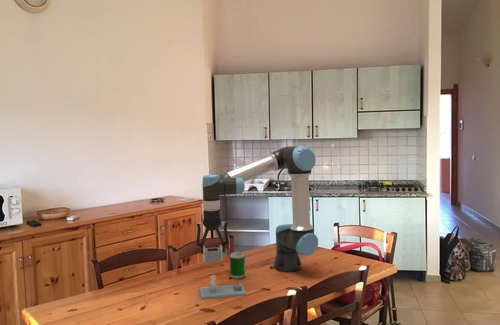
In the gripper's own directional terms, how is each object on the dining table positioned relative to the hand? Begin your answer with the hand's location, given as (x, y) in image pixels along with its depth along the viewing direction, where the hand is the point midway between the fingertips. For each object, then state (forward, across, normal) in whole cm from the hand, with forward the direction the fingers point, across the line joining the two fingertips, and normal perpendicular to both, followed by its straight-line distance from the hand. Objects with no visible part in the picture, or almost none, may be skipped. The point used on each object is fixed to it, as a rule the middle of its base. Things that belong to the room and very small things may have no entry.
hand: (212, 260), depth 190 cm
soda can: (+15, -14, -20) cm, 29 cm away
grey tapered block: (0, 0, 0) cm, 0 cm away
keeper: (+15, -4, 0) cm, 16 cm away
